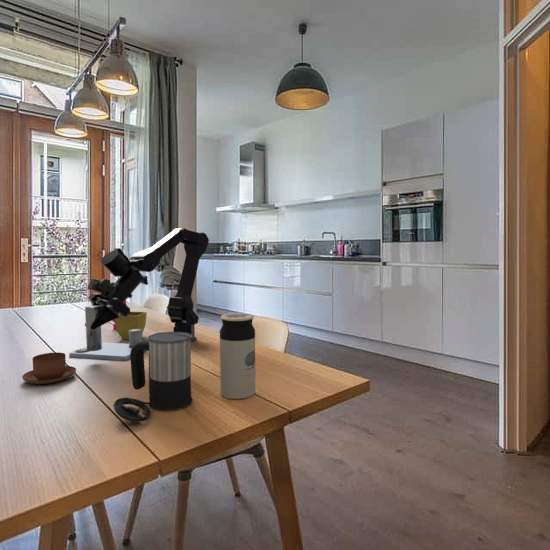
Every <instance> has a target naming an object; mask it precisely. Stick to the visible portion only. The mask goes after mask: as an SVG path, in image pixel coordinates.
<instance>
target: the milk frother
mask: <svg viewBox="0 0 550 550" xmlns="http://www.w3.org/2000/svg"><path fill="white" fill-rule="evenodd" d="M191 337H192V335H191V334H189V333H184V332H174V331H165V332H164V331H163V332H157V333H154V334H150V335H148V336H147V339H142V341H140V342H138V343H137V344H135V345H134V346H133V347H132V349H131V352H130V368H131V369H130V370H131V380H132V381H131V383H132V387H133V389H134V390H137V391H138V390H141V389H142V388H144V387H145V385H146V374H145V373H146V370H145V350H146V351H148V394H149V395H148V401H149V402H147V401H146V402H145V401H143V400H141V399H137V398H131V397H120V398H118V399H116V400H115V401H114V403H113V409H114V412H115V413H116V414H117V416H118V417H120V418H121V419H122V420H123V419H124V420H125V421H129V422H131V423H134V422H135V423H137V422H138V423H140V422H144V421H146V420H149V418H150V417H151V414H152V411H151V409H152V410H155V411H159V412H172V411H178V410H182V409H185V408H188V407H189V406H190V405H192V403H193V400H194V399H193V397H192V383H191V382H192V381H191V380H192V379H191V378H192V377H191V376H192V374H191V373H192V372H191V371H192V357H191V356H192V355H191V353H192V351H191V350H192V345H191V344H192V343H191V342H192V341H191ZM126 405H132V406H135V407H132V406H126ZM136 407H138V408H136ZM141 410H142V411H143V412H144V413H141V412H140V411H141Z"/></svg>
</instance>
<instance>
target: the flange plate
mask: <svg viewBox="0 0 550 550" xmlns="http://www.w3.org/2000/svg"><path fill="white" fill-rule="evenodd" d="M140 341H143V333H142V330H141V329H133V330H129V339H128V343H121V342H119V343H118V342H102V349H101V350H98V351H87V346H84V347H82V348H79V349H76V350H74V351H71V352H69V355H68V356H69V357H70V358H81V359H82V358H83V359H96V360H111V361H112V360H114V361H127V360H129V359H130V352H131V349H132V347H133V346H134V345H135V344H137V343H138V342H140ZM145 351H147V350H145ZM145 351H144V352H145Z"/></svg>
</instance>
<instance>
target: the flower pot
mask: <svg viewBox="0 0 550 550" xmlns="http://www.w3.org/2000/svg"><path fill="white" fill-rule="evenodd" d="M147 314H148V312H147V311H130V314H129V315H128V316H127V317H126V318H125V317H122V316H121V313H119V314H118V316H119V318H116V319H115V323H114V324H116V329H117V330H116V332H117V333H118V334H117V335H119V337H120V339H125V340H126V339H128V340H129V330H133V329H141V330H142V334H143V333H144V330H145V328H146V324H147V323H146V322H147Z"/></svg>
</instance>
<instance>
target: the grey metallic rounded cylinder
mask: <svg viewBox="0 0 550 550" xmlns="http://www.w3.org/2000/svg"><path fill="white" fill-rule="evenodd" d="M99 313H100V306H92V305H87V306H84V314H85V323H86V326H85V335H86V336H85V337H86V347H87V351H98V350H101V349H102V326H100V327H98V328H96V329H94V330H92V329H91V328H90V326H91V325H92V323H93V321H94V320H95V319H96V317H97V316H98V314H99Z"/></svg>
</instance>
